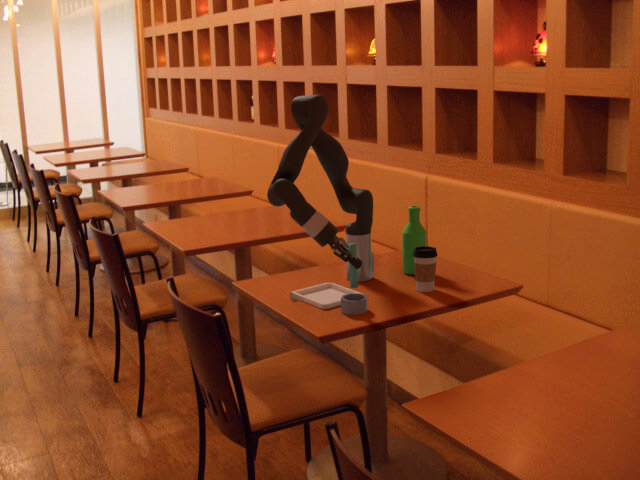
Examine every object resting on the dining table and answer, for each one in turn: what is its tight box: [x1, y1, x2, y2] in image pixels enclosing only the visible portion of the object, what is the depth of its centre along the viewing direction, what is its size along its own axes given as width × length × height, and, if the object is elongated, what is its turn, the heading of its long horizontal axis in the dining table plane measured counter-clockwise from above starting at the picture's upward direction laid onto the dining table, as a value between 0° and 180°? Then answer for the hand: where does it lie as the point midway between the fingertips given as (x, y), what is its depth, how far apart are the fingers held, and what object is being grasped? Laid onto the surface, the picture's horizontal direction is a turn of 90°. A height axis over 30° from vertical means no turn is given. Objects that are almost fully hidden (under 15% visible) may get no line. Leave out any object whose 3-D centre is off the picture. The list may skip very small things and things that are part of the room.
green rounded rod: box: [349, 243, 359, 289], centre depth 246 cm, size 2×2×14 cm
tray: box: [289, 281, 366, 311], centre depth 264 cm, size 17×19×2 cm
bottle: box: [401, 205, 427, 276], centre depth 290 cm, size 9×9×25 cm
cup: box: [340, 292, 369, 316], centre depth 249 cm, size 8×8×6 cm
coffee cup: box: [413, 245, 438, 293], centre depth 270 cm, size 8×8×15 cm
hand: (360, 265), depth 246 cm, fingers closed on green rounded rod, 2 cm apart
